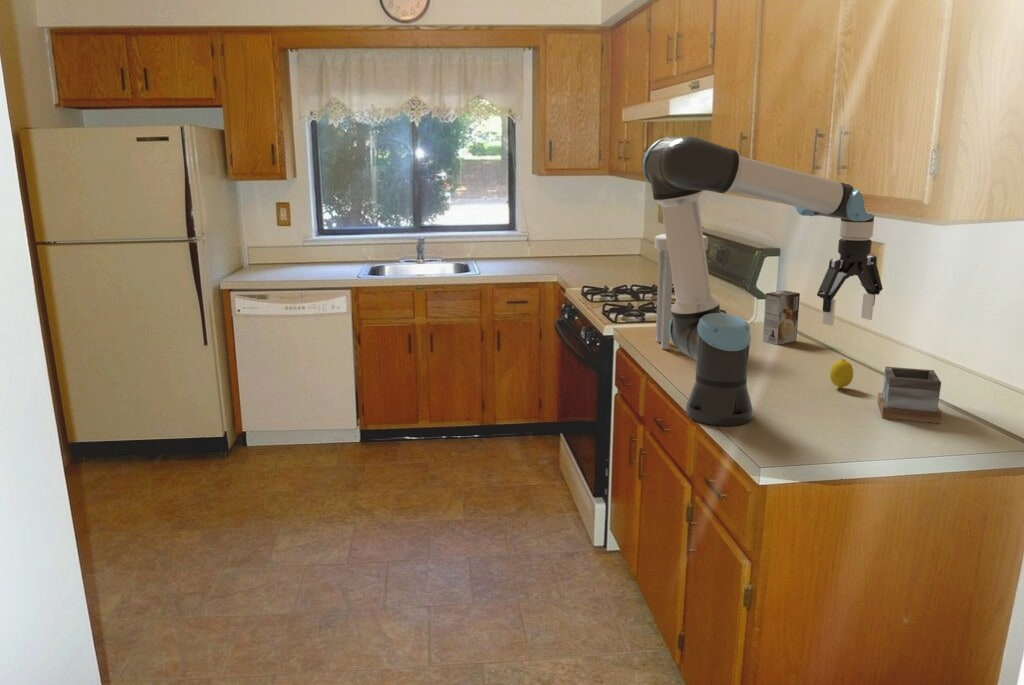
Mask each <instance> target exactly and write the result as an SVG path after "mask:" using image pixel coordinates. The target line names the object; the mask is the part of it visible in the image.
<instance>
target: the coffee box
mask: <svg viewBox="0 0 1024 685" xmlns="http://www.w3.org/2000/svg"><path fill="white" fill-rule="evenodd" d="M800 296H801V293H800V292H793V291H789V290H780V291H773V292H767V293H765V300H764V301H765V302H764V315H763V316H764V318H763V331H762V334H763V335H762V342H765V343H769V344H774V345H777V346H779V345H783V344H788V343H794V342H797V339H798V338H797V337H798V335H797V334H798V326H799V311H800V310H799V309H800Z"/></svg>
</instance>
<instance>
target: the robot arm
mask: <svg viewBox="0 0 1024 685" xmlns="http://www.w3.org/2000/svg"><path fill="white" fill-rule="evenodd" d="M642 171H643V172H642V173H643V175H644V177H645V179H646V180H647V182H648V183H649V184H650V185H651V186H650V187H651V192H652V197H653V201H654V202H655V203H657V204H659V205H660V207H661V211H662V212H661V213H662V219H663V226H664V232H665V233H664V234H666V239H667V246H668V252H669V258H670V265H671V271H672V285H673V289H674V296H675V302H674V305H673V306H672V307H671V312H672V318H671V320H670V324H669V335H670V341H671V342H672V344H673V345H674V346H675V347H676V348H677V349H678V350H679V351H680V352H681V353H683V354H685V355H686V356H688V357H690V358H691V359H693V360H694V361H696V363H695V381H694V384H693V386H692V390H691V391H690V394H689V397H688V399H687V402H686V410H685V413H686V416H687V417H688V418H689V419H691V420H694V421H695V422H697V423H702V424H705V425H711V426H720V427H721V426H722V427H724V426H725V427H734V426H740V425H745V424H748V423H750V422H751V421H752V420H753V413H754V412H753V411H754V410H753V405H752V402H751V397H750V394H749V390H748V384H747V382H748V370H749V360H750V358H749V356H750V344H751V340H752V338H751V326H750V324H749V323H748V321H746V320H745V319H744V318H742V317H740V316H738V315H732V314H730V313H725V312H724V313H723V312H721V308H720V307H721V306H720V302H719V301H720V300H718V299H717V298H715V297H714V296H713V295H712V290H711V288H712V287H711V283H710V282H711V281H710V275H709V268H708V260H707V255H706V250H705V246H704V239H703V235H704V233H703V226H702V217H701V211H700V206H699V204H700V203H699V198H700V197H701V196H702V194H703V192H704V191H707V192H715V193H718V194H723V195H724V194H726V193H728V192H730V191H731V192H734V193H738V194H742V195H747V196H750V197H755V198H759V199H763V200H767V201H772V202H776V203H779V204H783V205H786V206H787V205H788V206H792V207H795V210H796V212H797V213H798V214H799V215H800V216H803V217H806V216H809V217H816V216H817V217H819V216H821V217H826V218H835V219H840V226H839V227H840V228H839V237H841V238H839V239H838V246H837V253H838V254H839V259H835V258H830V259H829V263H828V268H827V271H826V272H825V274H824V277H823V280H822V282H821V284H820V286H819V288H818V291H817V292H816V295H817V296H816V297H819V298H821V299H823V302H822V303H823V304H822V312H823V315H822V316H823V317H822V324H823V325H827V326H832V327H833V326H834V322H835V321H834V320H835V309H836V299H834V298H835V297H836V295H837V293H838V292H839V290H840V289H841V288H842V286H843V284H844V283H845V281H846V279H849V278H850V277H854V276H857V278H858V279H859V281H860V283H861V285H862V287H863V289H864V290H865V291H866V292H864V293H863V295H862V304H861V305H862V306H861V316H860V318H861V319H865V320H868V321H871V320H872V319H873V312H874V307H875V303H876V302H875V301H876V295H878V296H879V295H880V293H881V292H882V291H883V289H884V288H883V285H882V281H881V277H880V273H879V269H878V266H877V264H878V263H877V262H878V259H877V256H875V255H870V254H871V251H872V244H873V241H872V240H871V238H872V237H873V234H874V226H875V225H874V223H875V215H872V214H868V213H866V211H865V208H864V207H865V206H864V200H863V196H862V195H861V193H860V191H859V190H857V189H853V187H852V186H851V185H849V184H845V183H844V182H840V181H837V180H832V179H830V178H825V177H821V176H817V175H813V174H811V173H810V174H809V173H806V172H803V171H798V170H796V169H795V170H794V169H791V168H787V167H784V166H781V165H774V164H772V163H767V162H764V161H759V160H755V159H751V158H748V157H745V156H741V154H740V152H739V151H738V150H737V149H734V148H729V147H726V146H722V145H720V144H717V143H714V142H712V141H708V140H707V139H706V140H705V139H703V138H700V137H696V136H690V135H689V136H687V135H686V136H666V137H664V138H661V139H659V140H657V141H655V142H654V143H652V144H651V145H650V146H649V148H648V149H647V151H646V152H645V154H644V156H643V160H642Z"/></svg>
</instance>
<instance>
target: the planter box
mask: <svg viewBox="0 0 1024 685" xmlns="http://www.w3.org/2000/svg"><path fill="white" fill-rule="evenodd" d="M883 374H884V375H883V377H884V378H883V384H882V392H878V393H877V401H876V402H877V405H878V406H877V407H878V409H879V411H880V415H881V418H882V419H886V418H890V419H889V420H896V419H902V420H901V421H906V420H912V421H911V422H916V421H921V422H920V423H926V422H932V423H931V424H936V423H940V424H941V422H942V415H943V413H942V411H941V409H940V408H939V401H940V394H941V388H942V387H941V386H942V382H941V380H940V378H939V376H938V375H937V373H936V372H935V370H933V369H922V368H911V367H910V368H909V367H908V368H907V367H896V366H885V368H884V373H883Z"/></svg>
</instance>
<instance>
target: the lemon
mask: <svg viewBox="0 0 1024 685" xmlns="http://www.w3.org/2000/svg"><path fill="white" fill-rule="evenodd" d="M829 377H830V380H831V383H832V384H833V385H834V386H836V387H837V389H839V388H840V390H841V388H842V389H843V388H845V387H847V386H849V385H850V384H851V383H852V381H853V378H854V369H853V365H852V364H851V363H850V362H848V361H847V360H845V359H843V358H842V359H840V360H837V361H835V362H834V363H833V364H832V365H831V368H830V372H829Z"/></svg>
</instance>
